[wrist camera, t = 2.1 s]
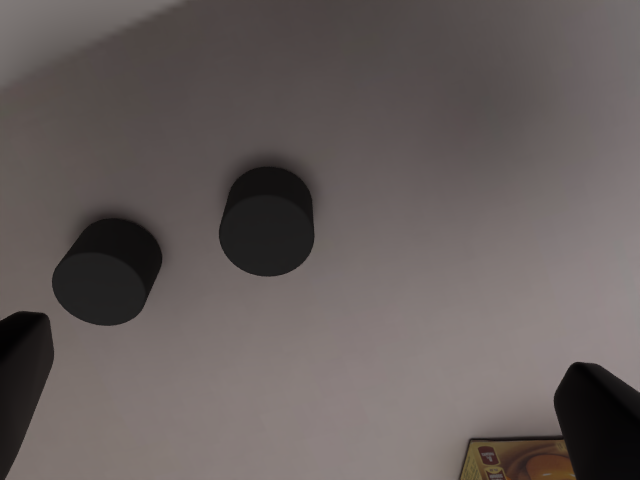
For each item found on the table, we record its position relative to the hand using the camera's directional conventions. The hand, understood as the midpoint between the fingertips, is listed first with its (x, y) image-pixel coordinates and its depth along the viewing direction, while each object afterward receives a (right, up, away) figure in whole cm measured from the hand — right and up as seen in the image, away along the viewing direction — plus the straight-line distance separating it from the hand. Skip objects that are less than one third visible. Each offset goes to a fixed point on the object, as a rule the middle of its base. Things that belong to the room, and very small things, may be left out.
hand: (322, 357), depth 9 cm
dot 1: (-8, +1, +11) cm, 14 cm away
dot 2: (-2, +3, +10) cm, 11 cm away
